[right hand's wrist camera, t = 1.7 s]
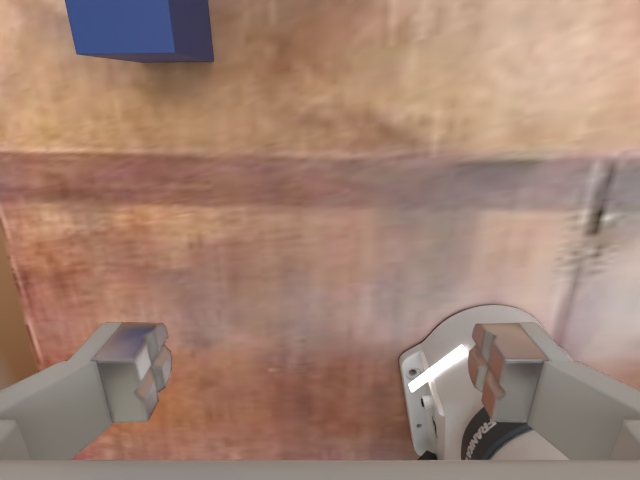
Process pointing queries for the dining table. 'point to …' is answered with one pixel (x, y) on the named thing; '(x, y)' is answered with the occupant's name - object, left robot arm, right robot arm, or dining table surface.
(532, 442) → the right robot arm
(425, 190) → the dining table surface
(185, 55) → the box
